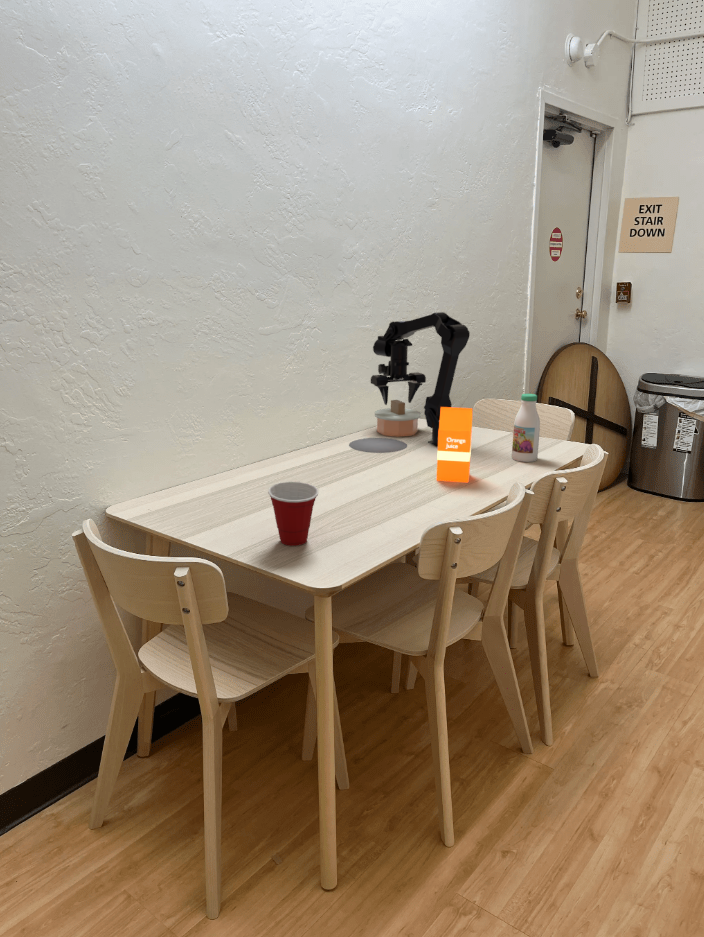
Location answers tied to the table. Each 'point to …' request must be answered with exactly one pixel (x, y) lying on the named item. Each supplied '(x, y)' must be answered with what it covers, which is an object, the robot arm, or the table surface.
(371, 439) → the mat
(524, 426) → the milk bottle
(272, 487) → the plastic cup
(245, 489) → the table surface
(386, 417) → the lid
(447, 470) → the orange juice
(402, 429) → the bowl
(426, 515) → the table surface
